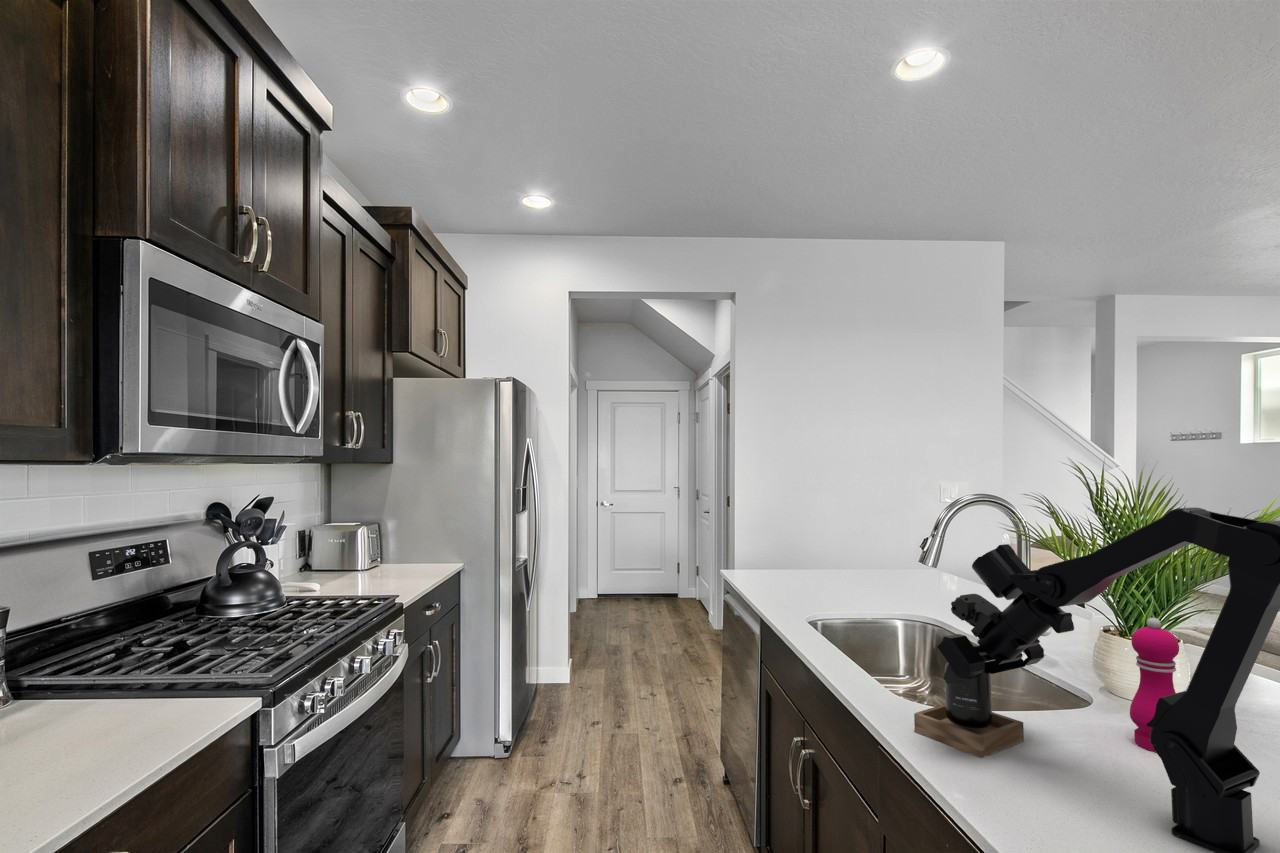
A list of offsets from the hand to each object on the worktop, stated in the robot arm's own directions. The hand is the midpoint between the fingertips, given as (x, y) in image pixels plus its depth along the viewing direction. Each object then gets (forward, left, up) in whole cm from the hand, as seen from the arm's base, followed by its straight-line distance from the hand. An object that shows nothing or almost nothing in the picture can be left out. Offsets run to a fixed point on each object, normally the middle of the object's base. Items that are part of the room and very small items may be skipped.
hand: (960, 677), depth 110 cm
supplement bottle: (-1, 0, -7) cm, 7 cm away
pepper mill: (-19, -22, -9) cm, 31 cm away
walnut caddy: (-1, 0, -9) cm, 9 cm away
